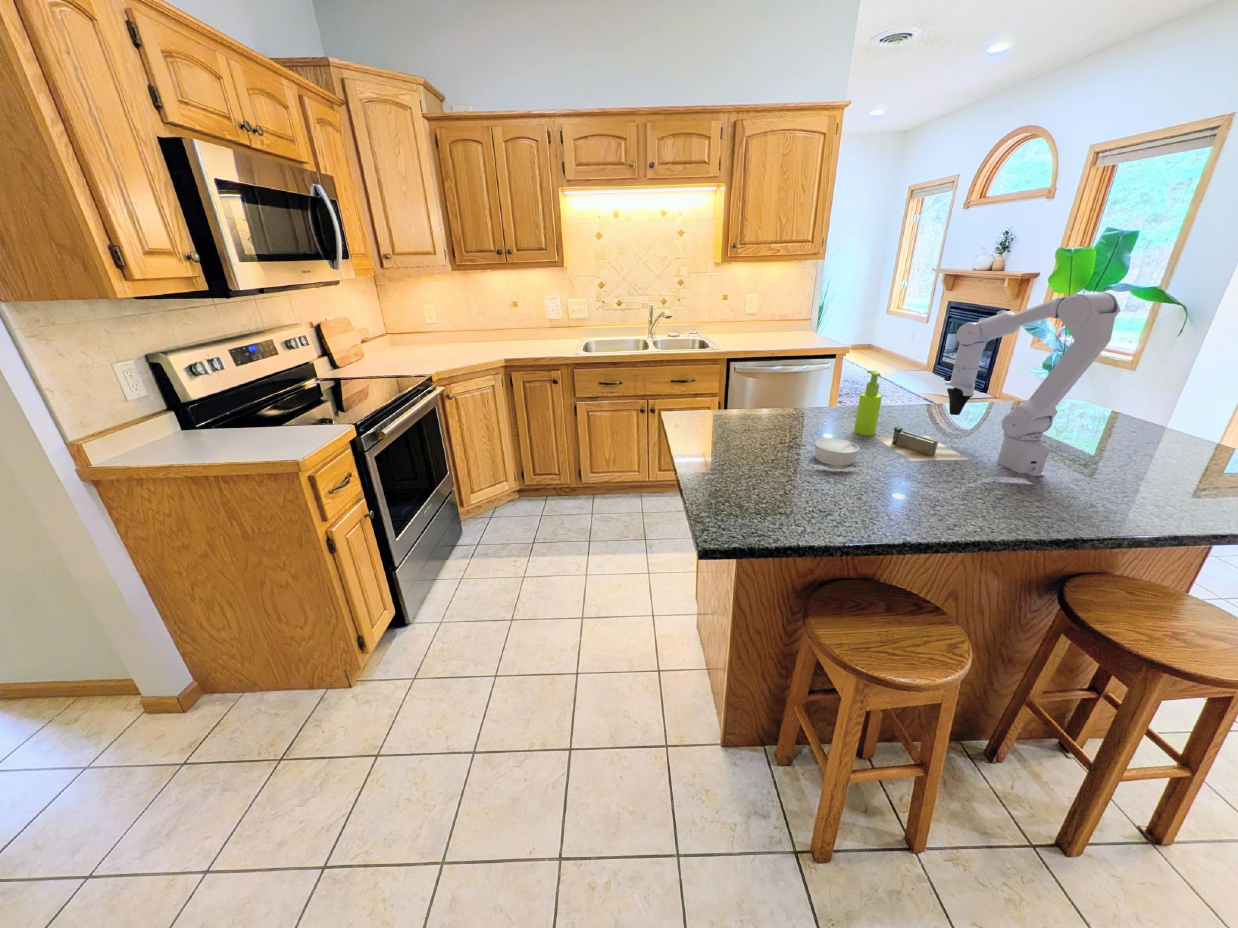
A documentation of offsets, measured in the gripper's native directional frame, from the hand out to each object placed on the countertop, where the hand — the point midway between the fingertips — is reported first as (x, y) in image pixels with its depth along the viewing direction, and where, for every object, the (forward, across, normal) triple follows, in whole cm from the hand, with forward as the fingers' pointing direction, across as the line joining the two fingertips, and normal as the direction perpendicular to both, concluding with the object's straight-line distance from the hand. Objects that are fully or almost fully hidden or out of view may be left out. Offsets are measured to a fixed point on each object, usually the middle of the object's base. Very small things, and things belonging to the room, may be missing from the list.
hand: (954, 414), depth 143 cm
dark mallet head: (+8, +10, -11) cm, 17 cm away
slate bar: (+8, +10, -10) cm, 16 cm away
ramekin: (+10, +23, -32) cm, 41 cm away
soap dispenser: (+10, -3, -22) cm, 24 cm away
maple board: (+9, +8, -9) cm, 15 cm away
